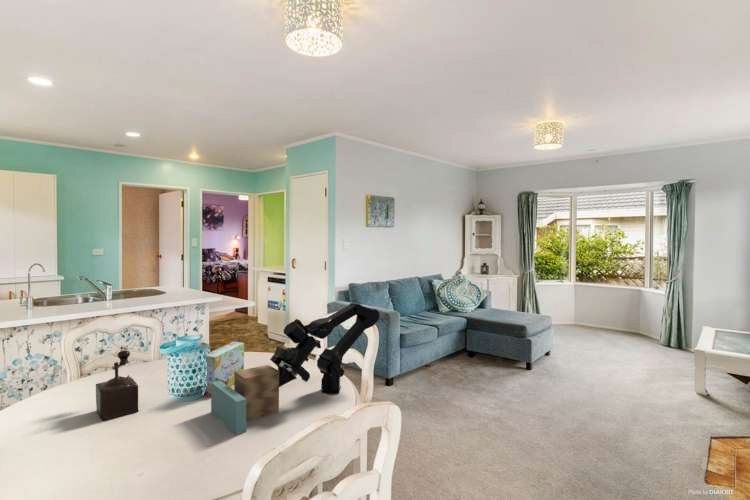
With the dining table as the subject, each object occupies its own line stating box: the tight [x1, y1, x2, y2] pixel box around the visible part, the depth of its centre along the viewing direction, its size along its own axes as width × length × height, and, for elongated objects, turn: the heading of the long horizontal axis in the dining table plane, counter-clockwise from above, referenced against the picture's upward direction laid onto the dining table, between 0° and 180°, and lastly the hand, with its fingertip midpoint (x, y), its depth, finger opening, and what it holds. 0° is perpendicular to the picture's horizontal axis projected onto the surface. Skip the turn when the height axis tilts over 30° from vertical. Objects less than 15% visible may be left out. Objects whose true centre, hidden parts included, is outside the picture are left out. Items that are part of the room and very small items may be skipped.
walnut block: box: [233, 364, 280, 423], centre depth 136 cm, size 12×8×14 cm, turn 132°
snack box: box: [203, 341, 245, 398], centre depth 158 cm, size 21×6×15 cm, turn 168°
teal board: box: [210, 381, 247, 436], centre depth 129 cm, size 3×20×10 cm, turn 42°
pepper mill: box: [95, 349, 140, 422], centre depth 137 cm, size 16×11×18 cm
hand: (274, 388), depth 140 cm, fingers closed, pressing on walnut block
